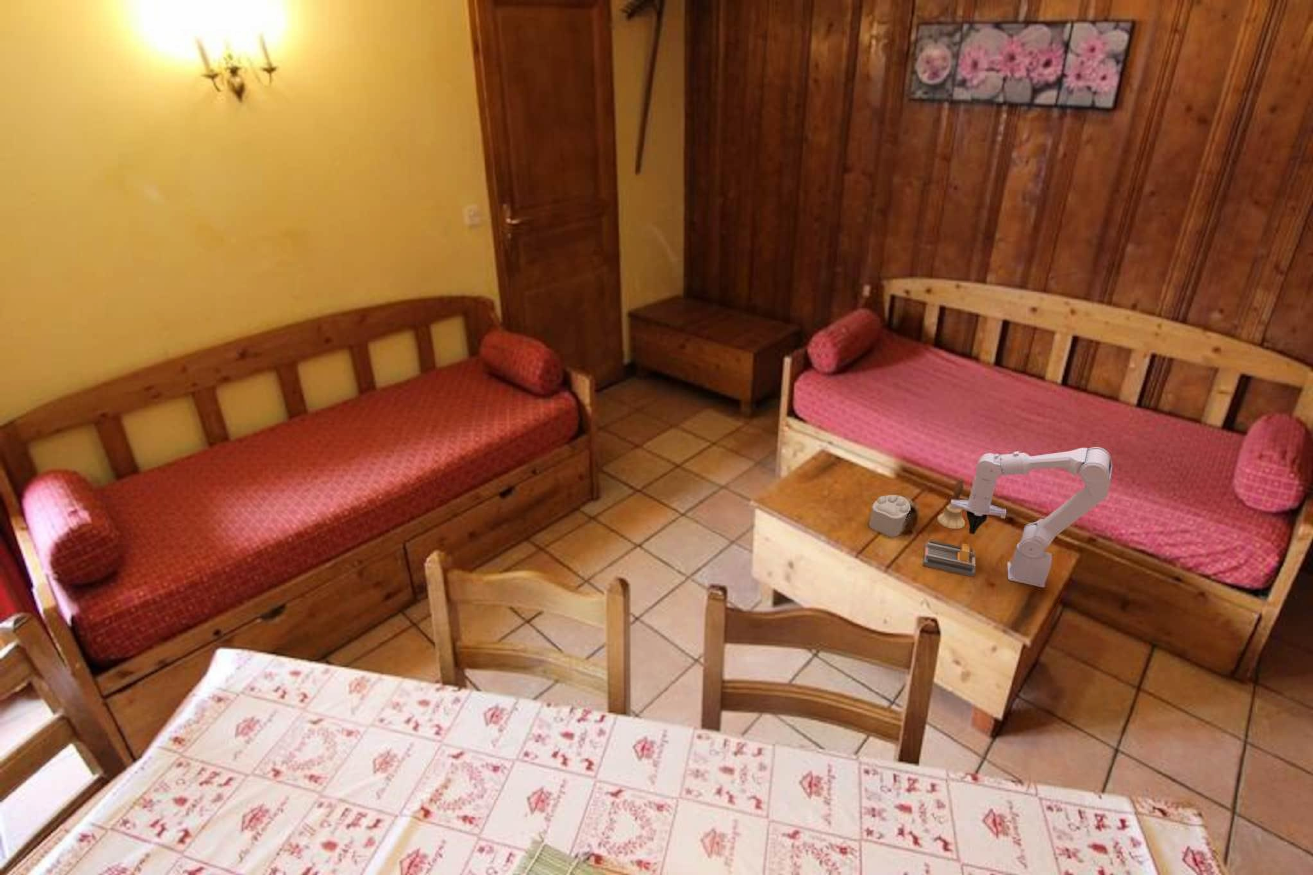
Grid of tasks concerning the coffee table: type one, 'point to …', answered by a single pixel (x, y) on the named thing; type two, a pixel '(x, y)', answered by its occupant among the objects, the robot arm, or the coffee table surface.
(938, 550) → the breaker panel
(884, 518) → the lumpy-topped squat cylinder
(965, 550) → the breaker lever
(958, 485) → the hand bell
